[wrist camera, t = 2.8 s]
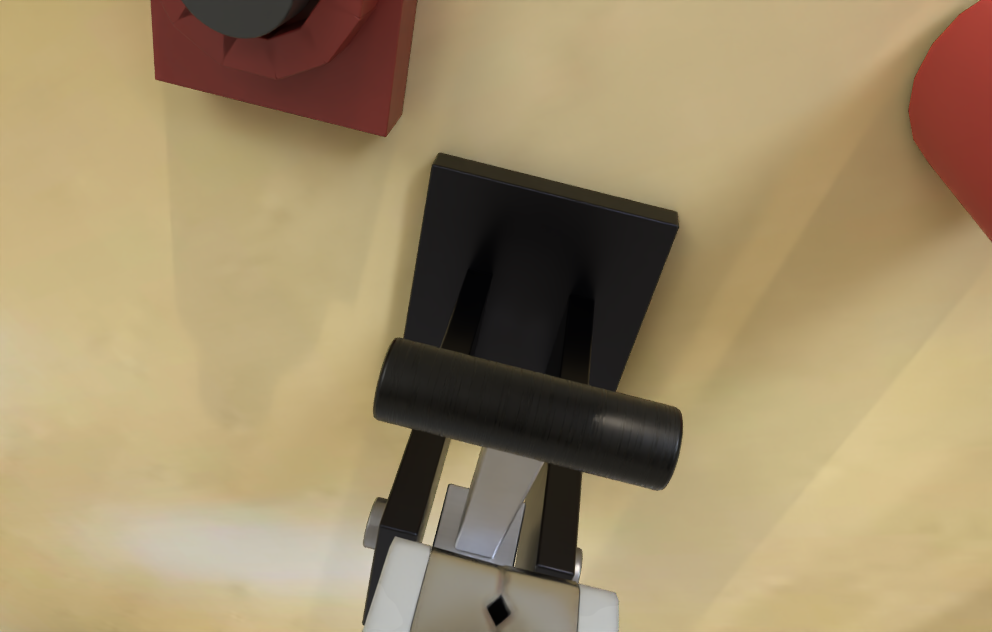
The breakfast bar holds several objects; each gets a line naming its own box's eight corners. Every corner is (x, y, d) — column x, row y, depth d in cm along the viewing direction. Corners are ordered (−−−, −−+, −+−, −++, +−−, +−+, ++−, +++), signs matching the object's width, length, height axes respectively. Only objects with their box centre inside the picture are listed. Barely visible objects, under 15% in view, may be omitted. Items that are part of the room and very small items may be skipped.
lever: (403, 297, 13) (361, 426, 12) (690, 369, 13) (676, 506, 12) (398, 498, 24) (375, 577, 22) (557, 539, 24) (543, 620, 22)
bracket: (438, 151, 28) (308, 391, 17) (678, 211, 28) (709, 492, 17) (397, 394, 35) (286, 680, 24) (590, 442, 35) (570, 752, 24)
